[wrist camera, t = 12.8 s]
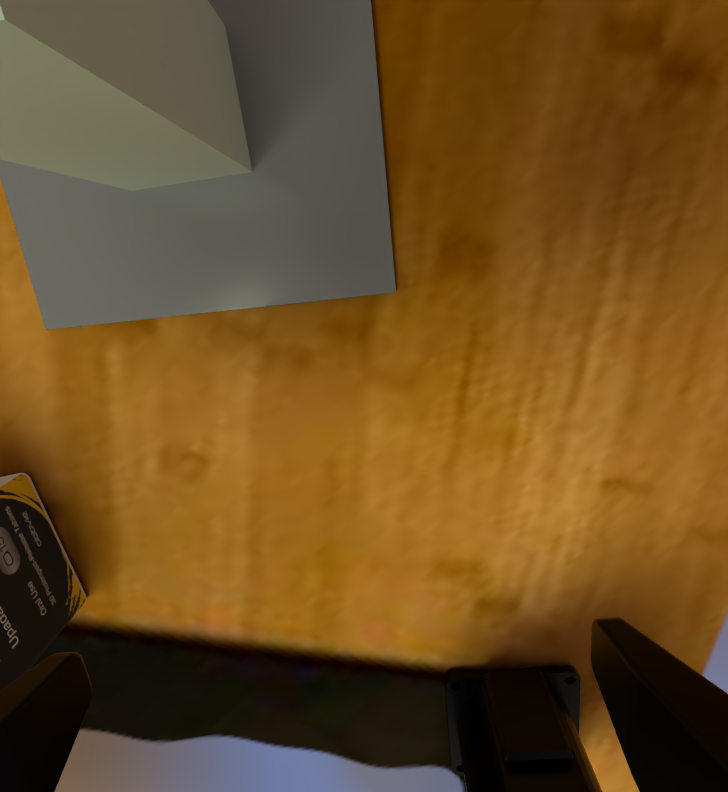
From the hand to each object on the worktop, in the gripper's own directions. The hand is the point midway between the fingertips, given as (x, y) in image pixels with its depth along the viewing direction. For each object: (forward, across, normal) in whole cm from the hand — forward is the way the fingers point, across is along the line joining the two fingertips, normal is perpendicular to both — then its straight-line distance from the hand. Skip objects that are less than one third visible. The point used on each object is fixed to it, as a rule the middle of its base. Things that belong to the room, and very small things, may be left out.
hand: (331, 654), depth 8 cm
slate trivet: (+12, +5, -12) cm, 18 cm away
